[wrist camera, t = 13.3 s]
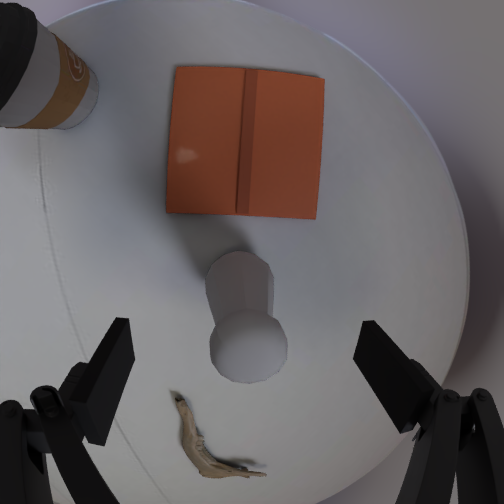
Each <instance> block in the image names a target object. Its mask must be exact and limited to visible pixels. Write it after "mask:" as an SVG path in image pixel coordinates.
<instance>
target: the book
mask: <svg viewBox="0 0 504 504" xmlns="http://www.w3.org/2000/svg"><path fill="white" fill-rule="evenodd" d="M324 83H325V79H322V78H316V77H311V76H305V75H299V74H292V73H285V72H277V71H268V70H258V69H246V68H231V67H176V75H175V83H174V92H173V101H172V112H171V123H170V136H169V151H168V170H167V199H166V213H192V214H221V215H244V216H264V217H282V218H299V219H314V220H315V219H316V212H317V201H318V190H319V178H320V165H321V150H322V133H323V112H324Z"/></svg>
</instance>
